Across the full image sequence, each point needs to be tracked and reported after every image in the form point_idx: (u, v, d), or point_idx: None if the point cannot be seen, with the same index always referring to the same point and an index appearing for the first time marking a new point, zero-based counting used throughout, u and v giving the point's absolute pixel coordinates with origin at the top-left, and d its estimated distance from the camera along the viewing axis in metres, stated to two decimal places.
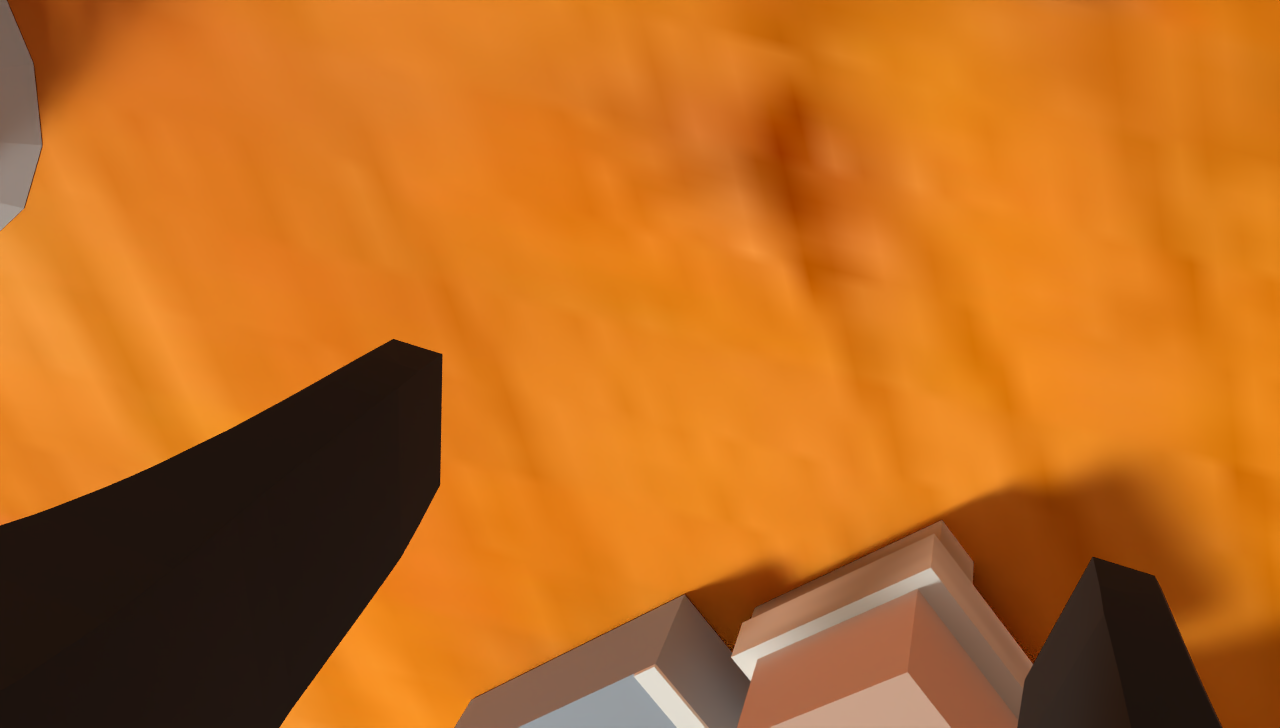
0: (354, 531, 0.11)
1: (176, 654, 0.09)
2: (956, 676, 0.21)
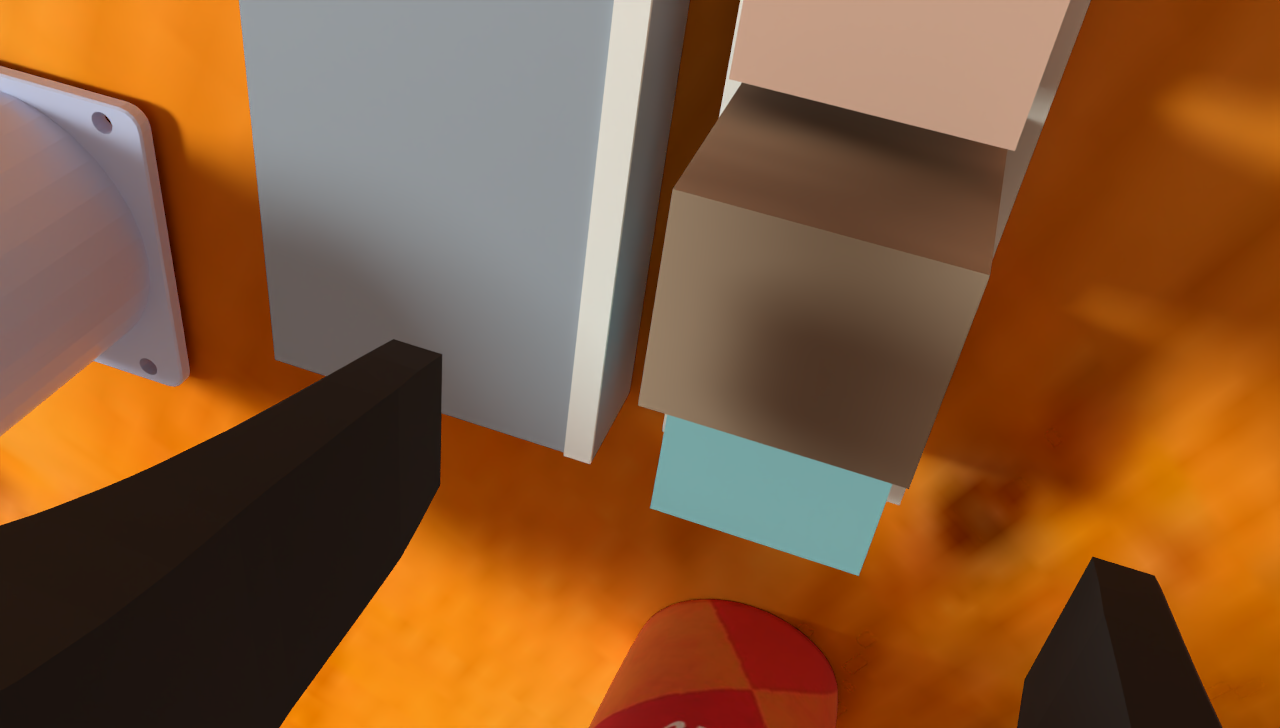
0: (354, 531, 0.11)
1: (177, 654, 0.09)
2: None
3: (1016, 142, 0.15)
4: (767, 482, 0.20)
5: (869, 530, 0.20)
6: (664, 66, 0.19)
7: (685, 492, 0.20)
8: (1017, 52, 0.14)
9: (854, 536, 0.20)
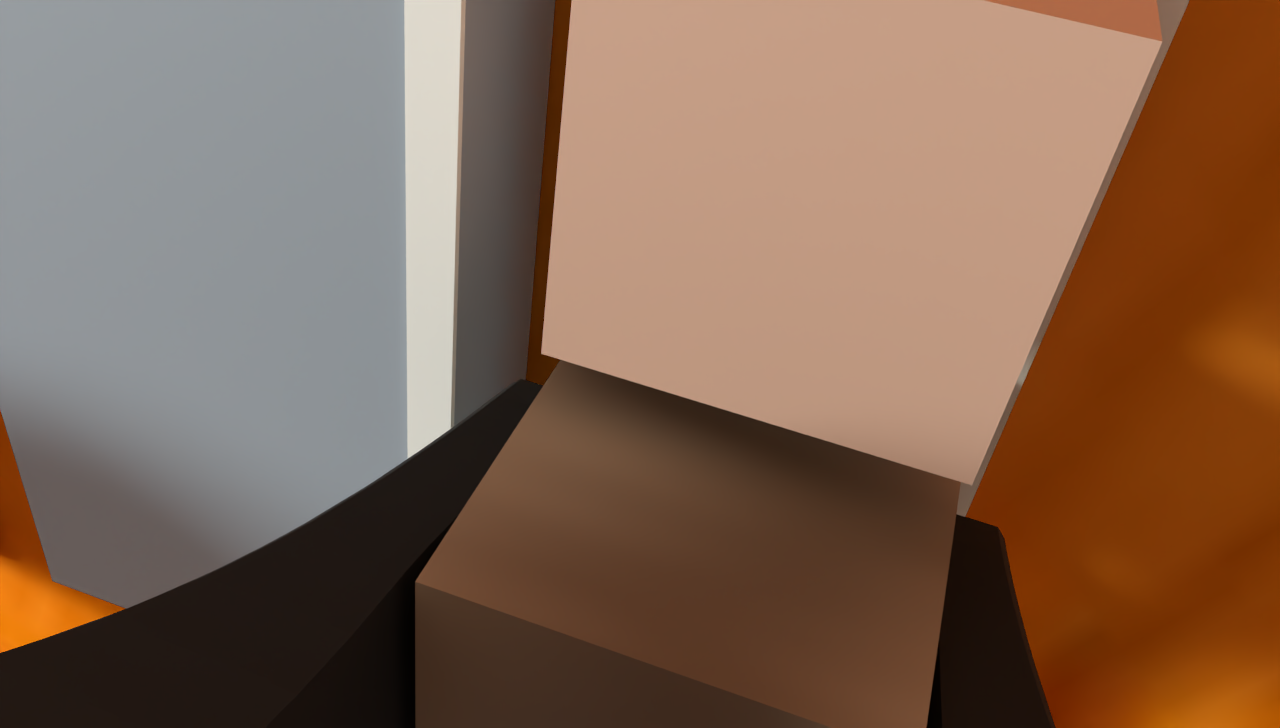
0: None
1: (347, 719, 0.09)
2: None
3: (974, 475, 0.10)
4: None
5: None
6: (503, 261, 0.14)
7: None
8: (974, 355, 0.09)
9: None
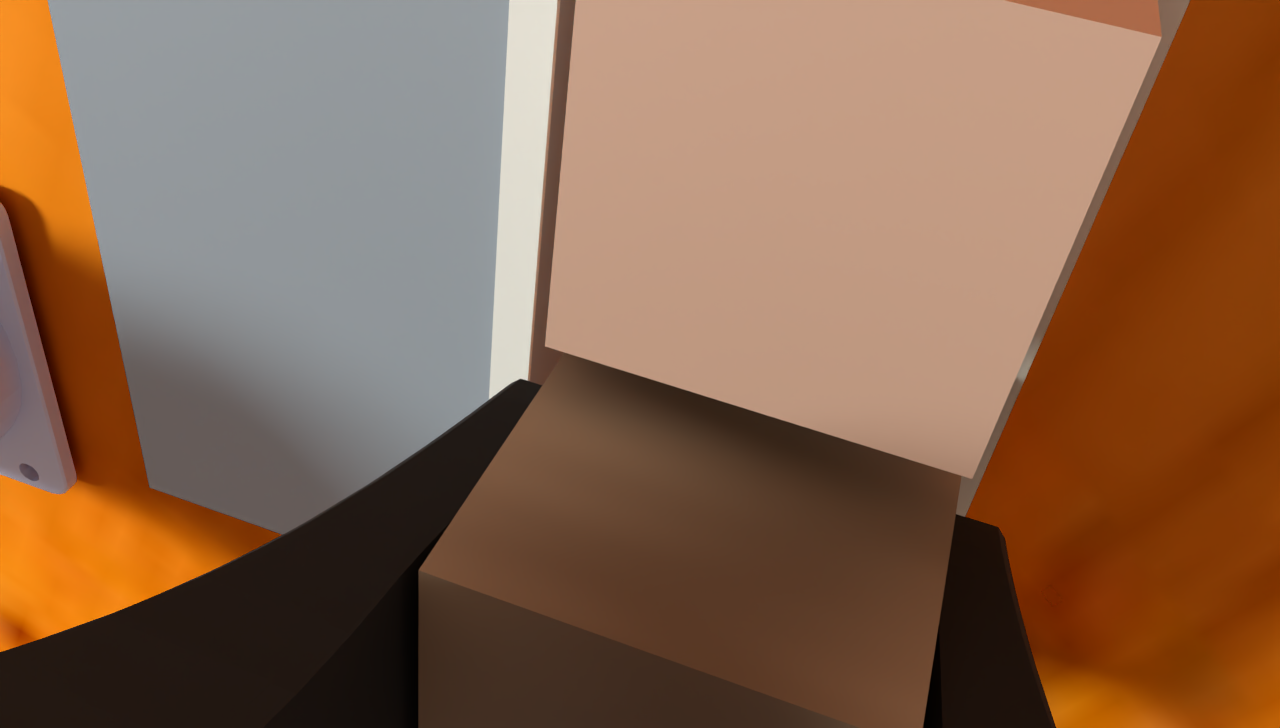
0: None
1: (346, 718, 0.09)
2: None
3: (974, 468, 0.10)
4: None
5: None
6: None
7: None
8: (974, 350, 0.09)
9: None
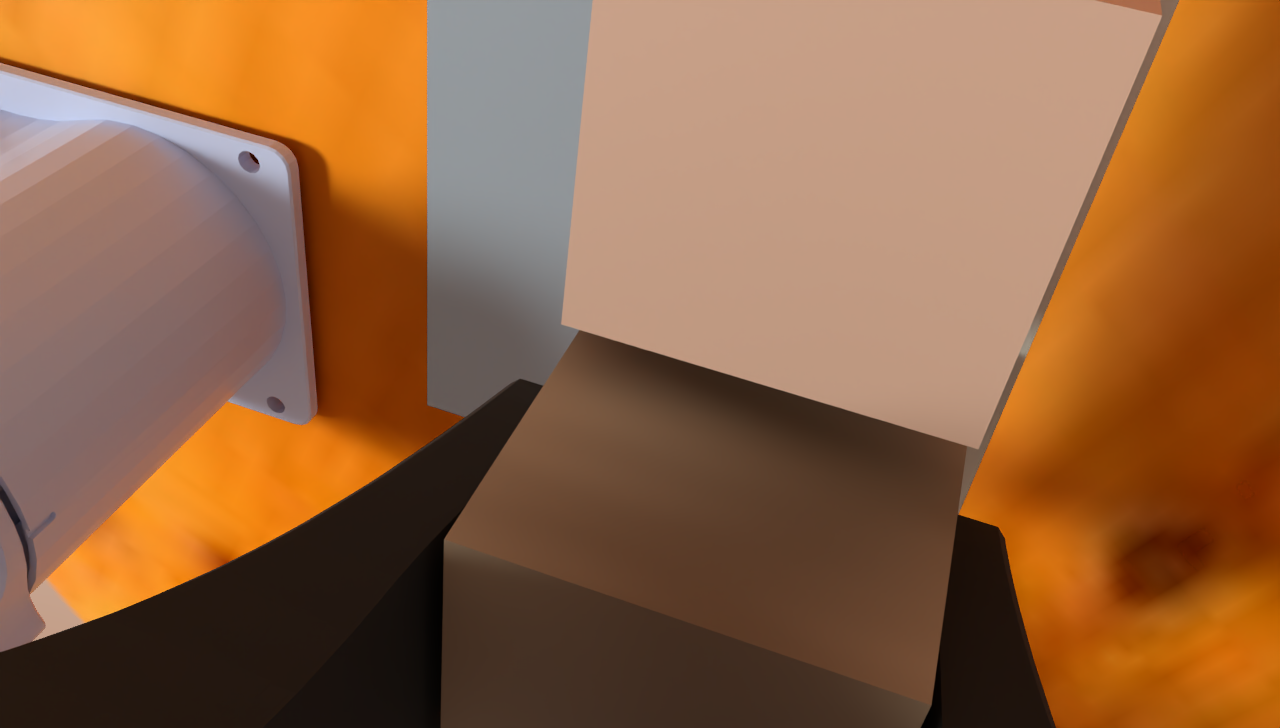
0: None
1: (346, 719, 0.09)
2: None
3: (980, 439, 0.10)
4: None
5: None
6: None
7: None
8: (981, 322, 0.09)
9: None
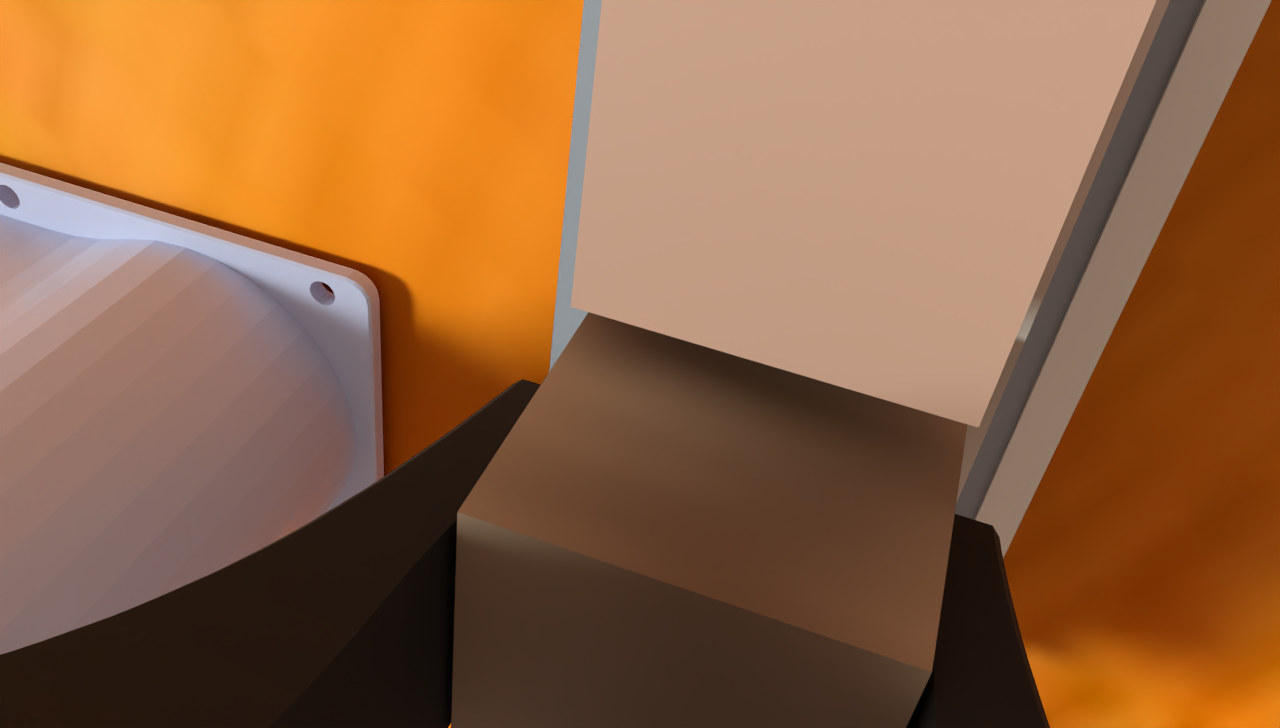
0: None
1: (349, 719, 0.09)
2: None
3: (980, 417, 0.10)
4: None
5: None
6: None
7: None
8: (980, 301, 0.10)
9: None
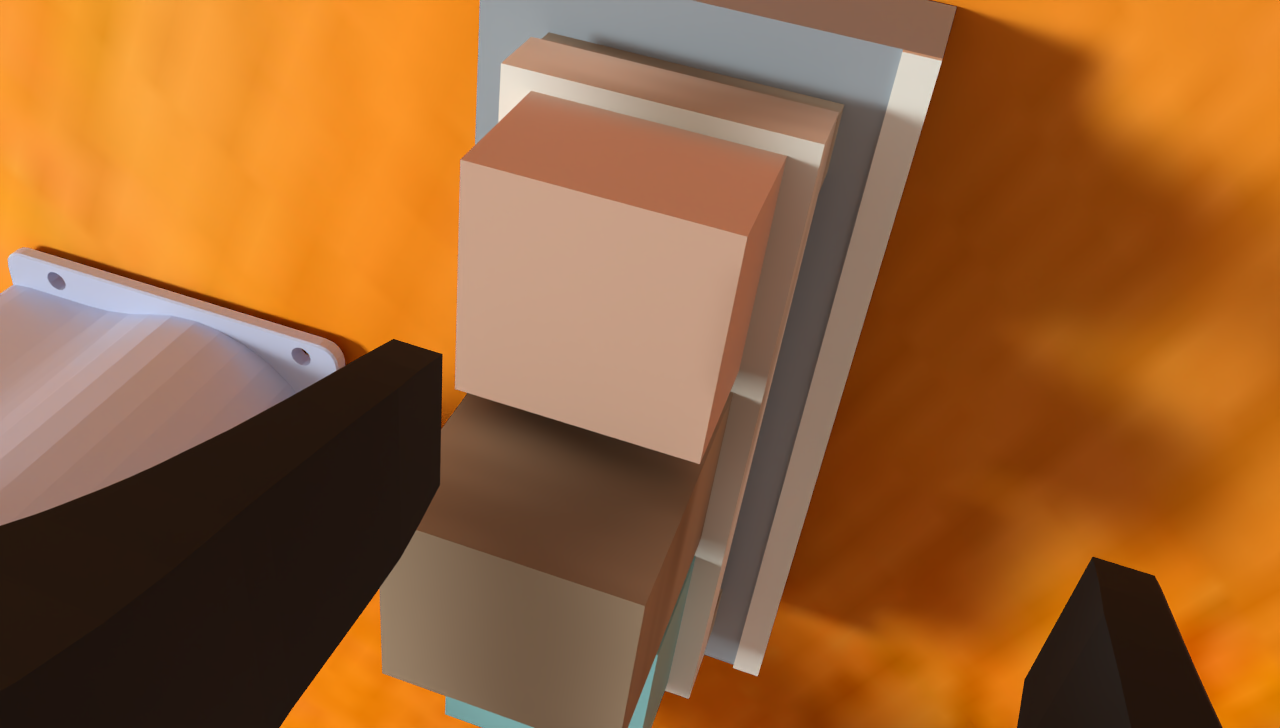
0: (354, 531, 0.11)
1: (176, 655, 0.09)
2: (752, 274, 0.16)
3: (699, 458, 0.17)
4: None
5: None
6: None
7: None
8: (688, 390, 0.16)
9: None
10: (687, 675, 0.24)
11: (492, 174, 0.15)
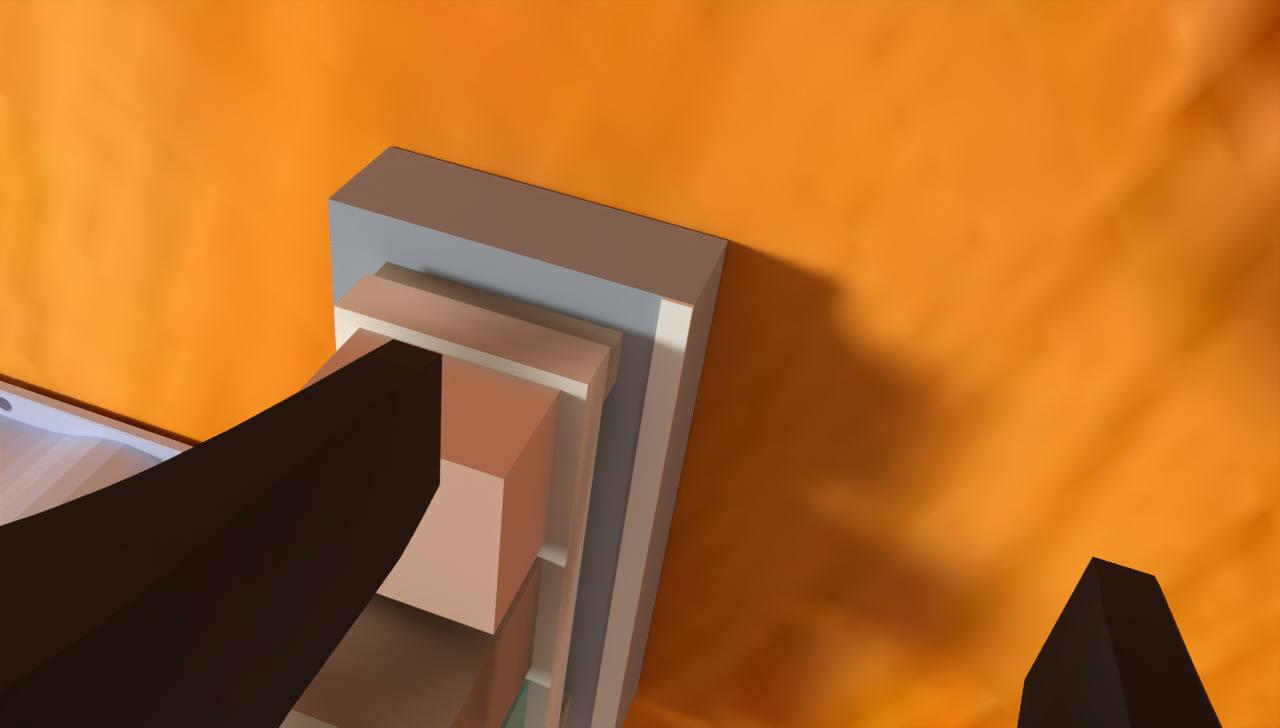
0: (354, 531, 0.11)
1: (176, 654, 0.09)
2: (533, 484, 0.20)
3: (492, 630, 0.20)
4: None
5: None
6: (665, 511, 0.26)
7: None
8: (476, 581, 0.20)
9: None
10: None
11: None
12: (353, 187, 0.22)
